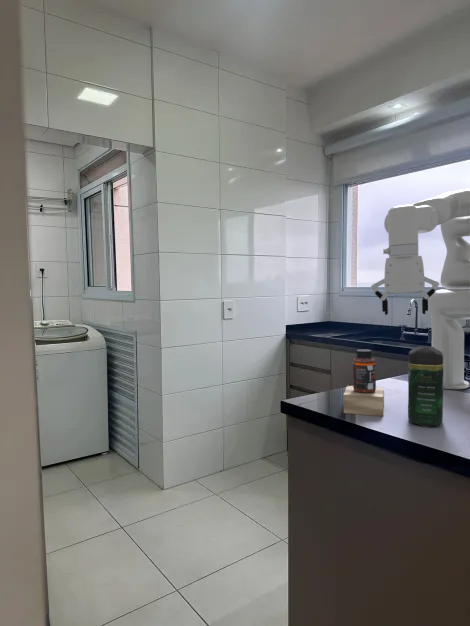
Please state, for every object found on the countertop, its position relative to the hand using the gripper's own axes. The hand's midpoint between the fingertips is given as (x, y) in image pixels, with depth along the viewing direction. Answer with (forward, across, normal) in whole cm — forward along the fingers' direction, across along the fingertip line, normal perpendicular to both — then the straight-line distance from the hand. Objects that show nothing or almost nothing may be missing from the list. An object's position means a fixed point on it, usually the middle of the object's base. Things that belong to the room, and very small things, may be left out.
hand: (404, 313), depth 116 cm
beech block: (+25, -11, -8) cm, 29 cm away
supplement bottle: (+20, -11, -8) cm, 24 cm away
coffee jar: (+26, +4, -14) cm, 30 cm away
